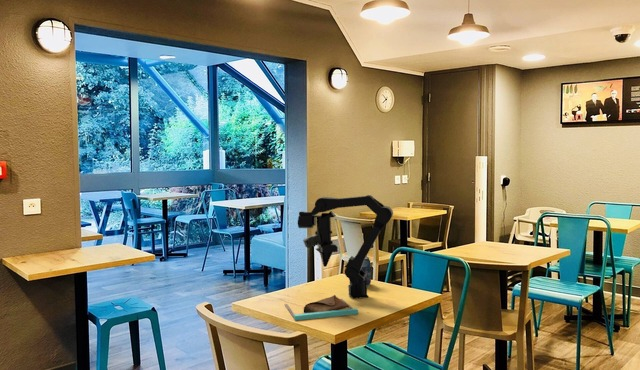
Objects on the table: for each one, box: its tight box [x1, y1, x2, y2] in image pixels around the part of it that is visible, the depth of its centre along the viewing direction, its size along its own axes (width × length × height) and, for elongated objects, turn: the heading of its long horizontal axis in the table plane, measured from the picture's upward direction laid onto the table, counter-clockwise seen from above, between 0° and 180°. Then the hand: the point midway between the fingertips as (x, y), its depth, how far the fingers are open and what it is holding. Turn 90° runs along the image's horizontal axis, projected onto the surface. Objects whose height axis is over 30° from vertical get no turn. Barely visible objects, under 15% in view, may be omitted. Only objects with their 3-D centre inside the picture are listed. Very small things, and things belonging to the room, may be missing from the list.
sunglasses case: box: [303, 294, 350, 314], centre depth 198 cm, size 18×7×7 cm
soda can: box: [362, 256, 372, 287], centre depth 234 cm, size 7×7×12 cm
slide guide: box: [284, 298, 359, 321], centre depth 199 cm, size 23×20×2 cm
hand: (324, 266), depth 217 cm, fingers closed
